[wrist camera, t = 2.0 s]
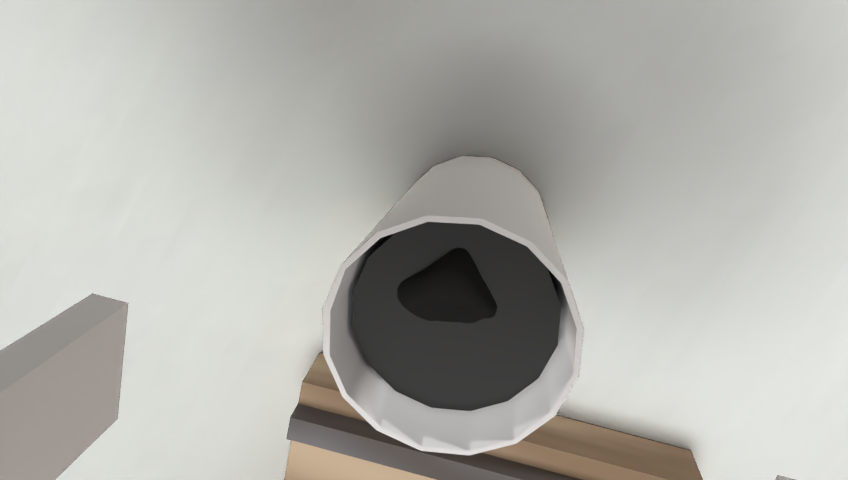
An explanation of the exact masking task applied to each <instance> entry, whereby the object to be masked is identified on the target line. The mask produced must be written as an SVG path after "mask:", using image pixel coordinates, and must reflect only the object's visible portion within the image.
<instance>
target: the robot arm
mask: <svg viewBox="0 0 848 480" xmlns="http://www.w3.org/2000/svg"><path fill="white" fill-rule="evenodd" d="M127 312H128V303H126V302H122V301H119V300H115V299H111V298H107V297H104V296H100V295H96V294H91V295H89V296H88V297H86V298H85V299H83V300H81V301H80V302H78V303H77V304H75V305H73V306H72V307H70V308H68V309H67V310H65V311H64V312H62V313H60V314H59V315H57V316H56V317H54V318H52V319H51V320H49V321H48V322H46V323H44V324H43V325H41V326H39V327H38V328H36V329H35V330H33V331H31V332H30V333H28V334H27V335H25V336H23V337H22V338H20V339H19V340H17V341H15V342H14V343H12V344H10V345H9V346H7V347H6V348H4V349H2V350H1V351H0V480H55V479H56V478H57V477H58V476H59V475H60V474H61V473H62V472H64V471H65V470H66V469H67V468H68V467H69V466H70V465H71V464H72V463H73V462H74V461H75V460H76V459H77V458H78V457H79V456H80V455H81V454H82V453H83V452H84V451H85V450H86V449H87V448H88V447H89V446H90V445H91V444H92V443H93V442H94V441H95V440H96V439H97V438H98V437H99V436H100V435H101V434H102V433H103V432H105V431H106V430H107V429H108V428H109V427H110V426H111V425H112V424H113V423H114V422H115V421H116V420H117V419H118V409H119V398H120V387H121V377H122V366H123V355H124V344H125V334H126V323H127ZM776 480H795V479H791V478H787V477H783V476H780V475H777V477H776Z"/></svg>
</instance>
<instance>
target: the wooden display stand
mask: <svg viewBox="0 0 848 480" xmlns="http://www.w3.org/2000/svg"><path fill="white" fill-rule="evenodd" d="M287 439H289V440H291V446H290V451H289V456H288V462H287V467H286V473H285V478H284V480H703V479H702V476H701V474H700V471H699V469H698V467H697V464H696V462H695V459H694V457H693V454H692V452H691V451H690V450H686V449H682V448H678V447H675V446H671V445H667V444H663V443H660V442H656V441H652V440H648V439H644V438H641V437H637V436H633V435H629V434H625V433H622V432H618V431H614V430H610V429H607V428H603V427H599V426H595V425H591V424H588V423H584V422H580V421H576V420H572V419H569V418H565V417H561V416H557V415H555V416H554V417H553V418H552V419H550V420H549V421H547V422H546V423H545V424H543V425H542V426H540V427H539V428H538V429H536V430H535V431H533V432H532V433H531V434H529V435H528V436H526V437H525V438H524V439H522V440H521V441H519V442H518V443H516V444H513V445H509V446H505V447H501V448H497V449H493V450H489V451H485V452H481V453H477V454H473V455H459V454H448V453H438V452H428V451H420V450H418V449H416V448H414V447H411V446H409V445H407V444H405V443H403V442H401V441H398V440H396V439H394V438H392V437H390V436H388V435H385V434H383V433H381V432H379V431H377V430H376V429H375V428H374V427H373V426H372V425H371V424H369V423H368V422H367V421H366V420H365V419H364V418H363V417H362V416H361V415H360V414H359V413H358V412H357V411H356V410H355V409H354V408H353V407H352V406H351V405H350V404H349V403H348V402H347V401H346V400H345V399H344V398H343V397H342V395H341V393H340V390H339V388H338V386H337V384H336V382H335V379H334V377H333V375H332V373H331V371H330V368H329V366H328V364H327V362H326V360H325V357H324V355H323V354H322V353H319V355H318V356H317V358H316V360H315V361H314V363H313V365H312V366H311V368H310V370H309V372H308V373H307V375H306V377H305V378H304V380H303V382H302V386H301V392H300V397H299V403H298V405H297V407H296V408H295V410H294V412H293V414H292V415H291V417H290V423H289V428H288V434H287Z"/></svg>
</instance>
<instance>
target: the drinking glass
mask: <svg viewBox="0 0 848 480" xmlns="http://www.w3.org/2000/svg"><path fill="white" fill-rule="evenodd" d="M322 321H323V355H324V357H325V360H326V362H327V364H328V366H329V368H330V371H331V373H332V375H333V377H334V379H335V382H336V384H337V386H338V388H339V390H340V393H341V395H342V397H343V398H344V399H345V400H346V401H347V402H348V403H349V404H350V405H351V406H352V407H353V408H354V409H355V410H356V411H357V412H358V413H359V414H360V415H361V416H362V417H363V418H364V419H365V420H366V421H367V422H368V423H369V424H371V425H372V426H373V427H374V428H375V429H376V430H377V431H379V432H381V433H383V434H385V435H388V436H390V437H392V438H394V439H396V440H398V441H401V442H403V443H405V444H407V445H409V446H411V447H414V448H416V449H418V450H420V451H428V452H438V453H448V454H459V455H473V454H477V453H481V452H485V451H489V450H493V449H497V448H501V447H505V446H509V445H513V444H516V443H518V442H519V441H521V440H522V439H524V438H525V437H526V436H528V435H529V434H531V433H532V432H533V431H535V430H536V429H538V428H539V427H540V426H542V425H543V424H545V423H546V422H547V421H549V420H550V419H552V418H553V417H554V416H555V415H556V413H557V412H558V410H559V408H560V407H561V405H562V403H563V402H564V400H565V398H566V397H567V395H568V393H569V392H570V390H571V388H572V387H573V385H574V383H575V382H576V380H577V379H578V377H579V372H580V362H581V353H582V343H583V334H584V327H583V324H582V321H581V318H580V315H579V312H578V309H577V306H576V303H575V300H574V297H573V293H572V290H571V287H570V284H569V281H568V278H567V275H566V272H565V269H564V266H563V263H562V260H561V257H560V254H559V251H558V248H557V245H556V242H555V239H554V236H553V233H552V230H551V227H550V224H549V221H548V218H547V215H546V212H545V209H544V206H543V203H542V200H541V197H540V194H539V192H538V191H537V189H536V188H535V187H534V186H533V185H532V184H531V183H530V182H529V181H528V180H527V178H526V177H525V176H524V175H523V174H522V173H521V172H520V171H519V170H518V169H516V168H513V167H511V166H509V165H507V164H505V163H503V162H501V161H498V160H496V159H494V158H492V157H475V156H460V157H457V158H454V159H451V160H449V161H446V162H443V163H440V164H437V165H435V166H433V167H432V168H431V169H430V170H429V171H428V172H426V173H425V174H424V175H423V176H422V177H421V178H420V179H419V180H418V181H417V182H416V183H414V184H413V185H412V187H411V188H410V189H409V190H408V191H407V192H406V193H405V195H404V196H403V197H402V198H401V199H400V200H399V201H398V202H397V203H396V205H395V206H394V207H393V208H392V209H391V210H390V211H389V212H388V213H387V215H386V216H385V217H384V218H383V219H382V220H381V221H380V222H379V223H378V225H377V226H376V227H375V228H374V229H373V230H372V231H371V232H370V233H369V235H368V236H367V237H366V238H365V239H364V240H363V241H362V242H361V243H360V245H359V246H358V247H357V248H356V249H355V250H354V251H353V252H352V253H351V255H350V256H349V257H348V258H347V259H346V260H345V261H344V262H343V263H342V265H341V266H340V268H339V271H338V273H337V275H336V278H335V280H334V282H333V285H332V287H331V289H330V292H329V294H328V296H327V299H326V301H325V303H324V305H323V308H322Z"/></svg>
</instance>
